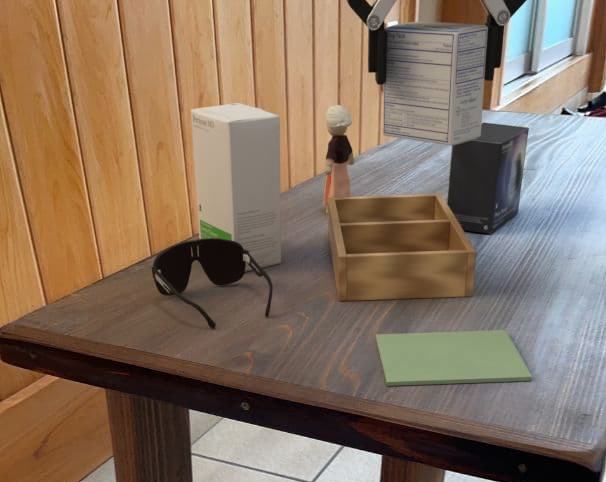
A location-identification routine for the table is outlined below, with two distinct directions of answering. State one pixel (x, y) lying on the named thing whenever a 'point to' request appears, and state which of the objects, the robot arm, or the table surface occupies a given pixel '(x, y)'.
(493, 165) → the small box
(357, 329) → the table surface
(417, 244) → the organizer
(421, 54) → the medicine box
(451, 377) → the pad
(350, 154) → the grandmother figurine
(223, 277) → the sunglasses
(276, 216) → the cosmetic box
